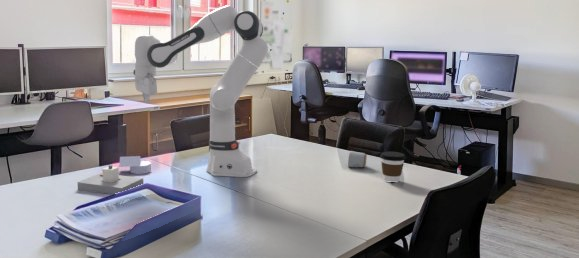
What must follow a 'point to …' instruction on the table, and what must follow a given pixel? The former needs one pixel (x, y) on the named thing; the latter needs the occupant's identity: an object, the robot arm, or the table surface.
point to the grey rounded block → (357, 159)
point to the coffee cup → (392, 165)
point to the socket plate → (108, 184)
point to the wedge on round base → (135, 164)
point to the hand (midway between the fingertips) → (146, 103)
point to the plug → (110, 174)
